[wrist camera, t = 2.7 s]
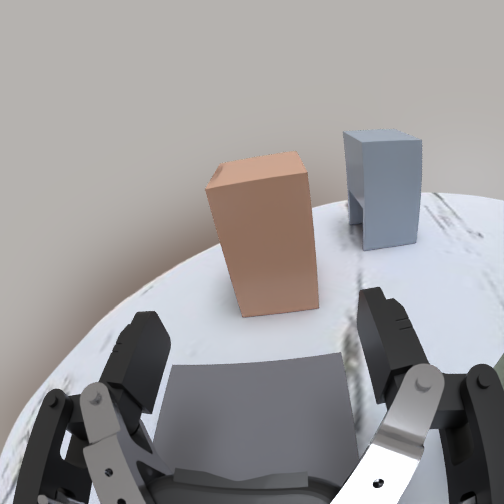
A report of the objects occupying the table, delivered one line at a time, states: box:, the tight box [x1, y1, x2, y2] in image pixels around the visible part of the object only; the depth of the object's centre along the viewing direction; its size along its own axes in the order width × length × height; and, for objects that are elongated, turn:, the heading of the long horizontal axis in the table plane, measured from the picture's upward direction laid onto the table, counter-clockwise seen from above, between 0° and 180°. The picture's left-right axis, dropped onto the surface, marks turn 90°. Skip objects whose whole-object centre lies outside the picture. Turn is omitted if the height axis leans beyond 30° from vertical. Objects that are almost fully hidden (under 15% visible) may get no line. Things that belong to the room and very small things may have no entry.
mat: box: [153, 352, 359, 486], centre depth 13 cm, size 12×12×1 cm
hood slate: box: [343, 129, 422, 251], centre depth 26 cm, size 6×6×11 cm
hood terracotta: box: [205, 151, 319, 317], centre depth 21 cm, size 6×6×11 cm
